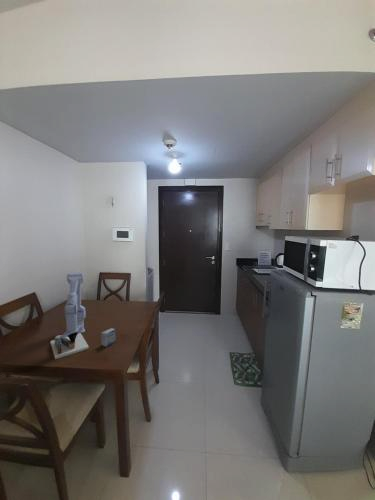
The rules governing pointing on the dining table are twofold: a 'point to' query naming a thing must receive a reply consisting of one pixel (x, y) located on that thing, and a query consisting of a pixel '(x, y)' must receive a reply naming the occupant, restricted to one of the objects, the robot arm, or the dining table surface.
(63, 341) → the tongs arm
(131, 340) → the dining table surface
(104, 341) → the medicine box
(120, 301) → the dining table surface
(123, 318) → the dining table surface
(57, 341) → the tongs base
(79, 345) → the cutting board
